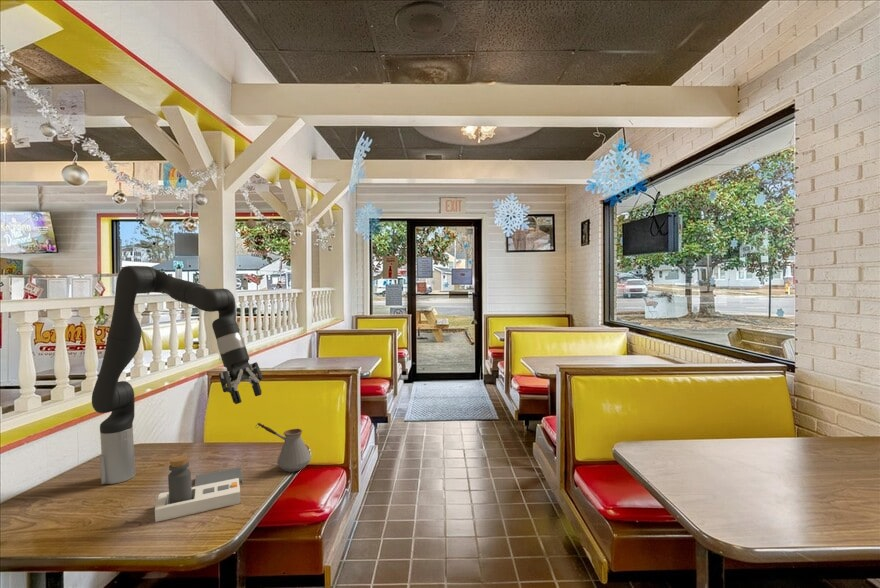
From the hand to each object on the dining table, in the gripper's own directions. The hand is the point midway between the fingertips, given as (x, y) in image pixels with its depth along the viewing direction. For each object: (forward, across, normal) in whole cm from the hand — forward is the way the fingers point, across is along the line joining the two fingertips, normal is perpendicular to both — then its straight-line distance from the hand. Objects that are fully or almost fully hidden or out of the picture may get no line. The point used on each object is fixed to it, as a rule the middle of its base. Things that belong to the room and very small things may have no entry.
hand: (248, 399), depth 143 cm
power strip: (+25, +10, -20) cm, 34 cm away
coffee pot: (+27, -21, -15) cm, 38 cm away
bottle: (+24, +13, -24) cm, 36 cm away
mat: (+23, -4, -27) cm, 36 cm away
